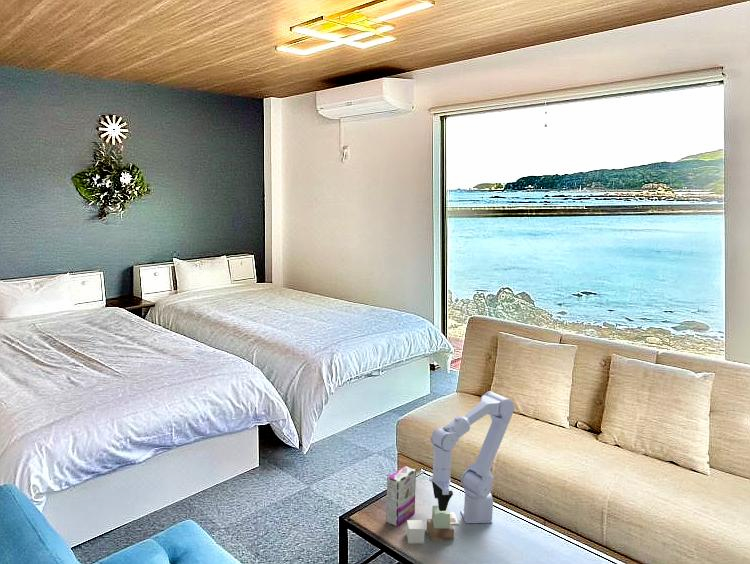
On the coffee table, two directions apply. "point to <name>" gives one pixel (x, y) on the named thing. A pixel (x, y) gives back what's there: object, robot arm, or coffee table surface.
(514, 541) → the coffee table surface
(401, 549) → the coffee table surface
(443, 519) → the sage cube
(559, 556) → the coffee table surface
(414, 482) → the candy bar box
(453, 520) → the card
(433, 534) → the walnut block
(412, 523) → the pale grey cube
